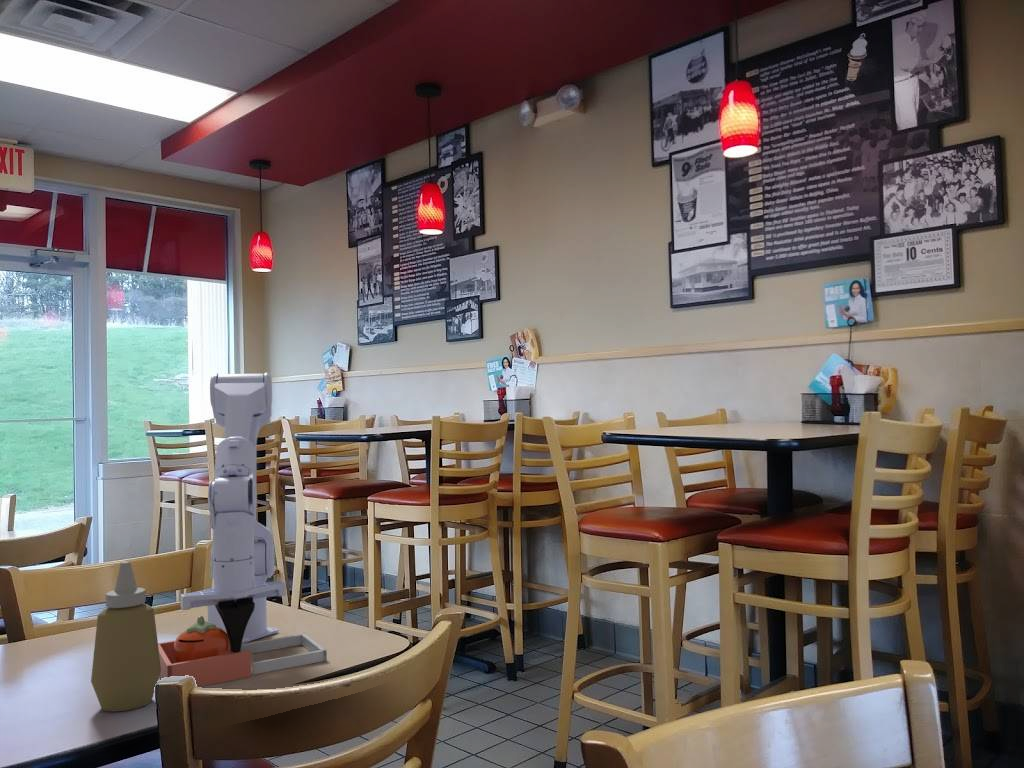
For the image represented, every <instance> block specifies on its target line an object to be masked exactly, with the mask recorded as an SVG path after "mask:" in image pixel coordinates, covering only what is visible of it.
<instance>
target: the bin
mask: <svg viewBox="0 0 1024 768" xmlns="http://www.w3.org/2000/svg"><path fill="white" fill-rule="evenodd" d="M226 634H227V632H226ZM227 636H228V634H227ZM175 640H176V639H175ZM175 640H170V641H164V642H158V648H159V656H160V665H161V672H160V676H159V679H160V680H161V678H164V677H170V676H185V675H189V676H193V677H194V678H195V680H196V684H197V686H199V687H205V686H209V685H214V684H219V683H225V682H231V681H235V680H241V679H247V678H251V677H252V653H251V651H250V650H248V651H243V652H237V653H232V652H231V648H230V642H229V638H228V650H227V653H226V655H220V656H214V657H208V658H203V659H197V660H191V661H186V662H180V663H177V661H176V659H175V656H174V651H173V648H174V643H175Z"/></svg>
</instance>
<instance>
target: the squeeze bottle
mask: <svg viewBox="0 0 1024 768" xmlns="http://www.w3.org/2000/svg"><path fill="white" fill-rule="evenodd" d="M114 587H115V588H114V590H110V591H108V592H107V593H105V606H106V607H107V608H104V609H103V610H102V611H101V612H100V613H99V614H98V615H97V617H96V628H95V629H96V630H95V638H94V639H95V640H94V647H93V658H92V669H91V676H90V678H91V679H90V683H91V686H92V687H93V691H94V693H95V695H96V697H97V700H98V703H99V705H100V708H101V709H102V710H103V711H108V712H123V711H130V710H133V709H138V708H141V707H143V706H146V705H147V704H149V703H151V702H152V700H153V697H154V693H155V691H154V687H155V684H156V683H157V684H158V682H159V679H160V677H159V676H160V672H161V665H160V656H159V648H158V643H159V641H158V631H157V625H156V617H155V609H154V607H152V606H151V605H149V604H148V603H145V602H146V601H147V590H146V589H145V588H144V587H137V583H136V579H135V574H134V570H133V566H132V563H131V561H124V562H120V565H119V568H118V574H117V578H116V583H115V586H114ZM157 681H158V682H157Z"/></svg>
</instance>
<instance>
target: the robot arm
mask: <svg viewBox="0 0 1024 768" xmlns="http://www.w3.org/2000/svg"><path fill="white" fill-rule="evenodd" d="M272 386H273V385H272V375H270V374H269V372H264V373H218V372H217V373H216V372H215V373H213V375H212V376H211V377H210V382H209V400H210V405H211V409H212V413H213V415H212V416H213V418H214V419H215V423H216V424H217V425H218V426H220V427H223V428H224V437H225V439H223V440H222V441H220V442H219V443H218V445H217V447H216V454H215V462H214V463H215V464H214V465H215V466H214V471H213V472H214V474H213V481H212V480H210V481H209V483H208V489H207V502H208V503H207V505H208V510H209V511H208V512H209V515H210V528H211V530H212V538H211V539H212V541H211V542H212V543H211V548H210V575H211V576H210V577H211V579H212V580H213V585H212V587H211V588H208V589H203V590H202V589H201V590H198V591H193V592H189V593H188V592H187V593H181V594H180V608H181V610H183V611H187V610H191V609H195V608H201V607H207V622H210V623H213V624H215V625H216V627H219V628H221V629H222V630H223V631H225V632H227V634H228V638H229V642H230V648H231V652H232V653H237V652H240V651H241V644H245V643H250V642H253V641H254V640H258V639H261V638H263V637H267V636H270V635H273V634H277V633H278V632H279V629H278V628H274V627H268V622H267V621H268V618H267V616H268V615H267V609H268V608H267V606H268V605H267V598H271V597H284V596H286V595H287V594H286V593H287V592H286V582H285V581H283V580H278V581H267V579H271V577H272V576H273V575H274V574H275V547H274V536H273V533H272V530H270V529H269V528H268V527H267V526H265V525H263V524H262V523H260V522H258V520H257V505H258V504H257V503H258V497H257V496H258V493H257V492H258V491H257V490H258V489H257V444H258V443H257V442H258V436H259V433H260V430H261V428H262V427H264V426H266V425H267V424H269V423H270V422H271V417H272V406H273V405H272V404H273V387H272Z"/></svg>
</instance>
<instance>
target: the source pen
mask: <svg viewBox="0 0 1024 768" xmlns="http://www.w3.org/2000/svg"><path fill="white" fill-rule="evenodd" d="M300 645H302V646H303V647H304V648H306V650H308V652H304V653H303V652H302V653H298V654H297V653H296V654H292V655H287V656H286V655H285V656H282V657H277V658H276V657H275V658H272V659H265V660H260V661H259V660H258V661H254V662H251V674H252V675H257V674H263V673H268V672H274V671H279V670H284V669H289V668H294V667H301V666H305V665H310V664H315V663H321V662H325V661H327V659H328V656H327V655H328V654H327V649H325V648H324V647H323V646H322V645H320V644H319V643H318V642H317V641H315V640H313V639H312V638H311V637H310V636H309V635H307V634H305V633H299V634H293V635H288V636H281V637H276V638H275V637H274V638H271V639H264V640H259V641H258V640H257V641H250V642H246V643H243V644H241V651H240V652H243V651H248V650H250V651H251V654H255V653H262V652H267V651H272V650H278V649H279V650H280V649H285V648H288V647H289V648H290V647H297V646H300Z"/></svg>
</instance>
